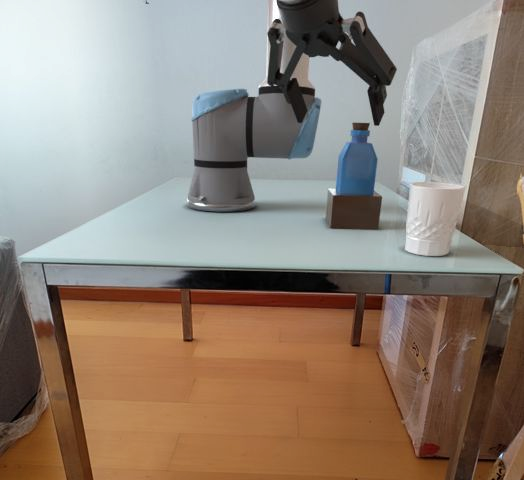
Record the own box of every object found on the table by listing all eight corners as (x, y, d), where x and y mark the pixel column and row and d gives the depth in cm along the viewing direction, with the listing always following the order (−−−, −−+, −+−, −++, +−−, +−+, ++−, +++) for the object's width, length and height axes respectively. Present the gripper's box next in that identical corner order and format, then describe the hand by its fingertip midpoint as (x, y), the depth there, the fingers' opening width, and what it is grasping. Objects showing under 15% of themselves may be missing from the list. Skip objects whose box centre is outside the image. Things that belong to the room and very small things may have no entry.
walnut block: (325, 219, 98) (327, 188, 95) (369, 220, 98) (373, 189, 95) (330, 228, 90) (333, 195, 87) (378, 229, 90) (382, 196, 87)
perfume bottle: (339, 194, 88) (346, 122, 83) (335, 189, 94) (341, 122, 88) (373, 195, 88) (381, 123, 83) (367, 190, 94) (374, 123, 88)
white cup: (462, 256, 73) (476, 188, 69) (415, 258, 72) (426, 189, 67) (435, 244, 80) (447, 181, 75) (392, 245, 78) (401, 181, 74)
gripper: (211, 14, 65) (266, 132, 83) (388, -3, 53) (407, 139, 71) (233, -26, 67) (282, 99, 85) (410, -50, 55) (423, 100, 73)
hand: (339, 118), depth 78 cm, fingers open, 13 cm apart
